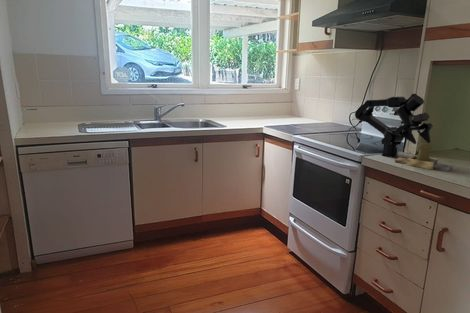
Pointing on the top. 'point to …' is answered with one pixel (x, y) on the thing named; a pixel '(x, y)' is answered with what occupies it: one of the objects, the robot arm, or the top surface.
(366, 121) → the robot arm
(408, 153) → the top surface
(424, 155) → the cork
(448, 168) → the wooden tray
